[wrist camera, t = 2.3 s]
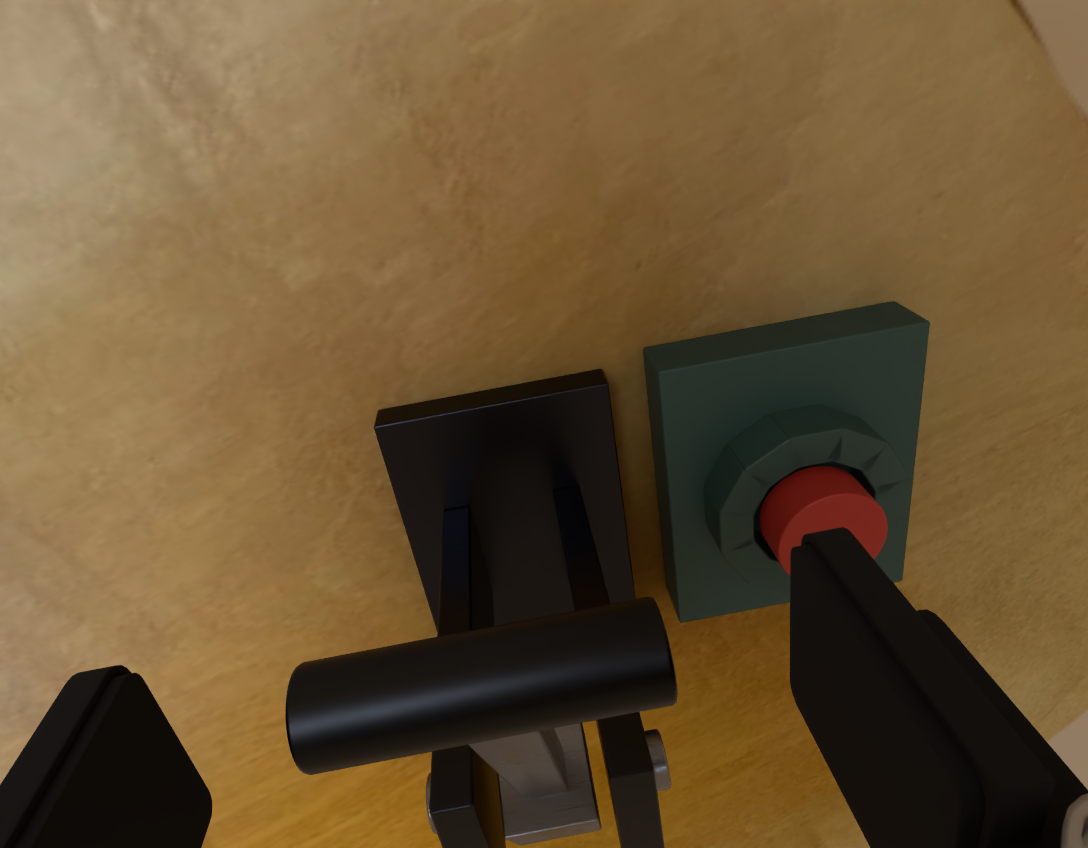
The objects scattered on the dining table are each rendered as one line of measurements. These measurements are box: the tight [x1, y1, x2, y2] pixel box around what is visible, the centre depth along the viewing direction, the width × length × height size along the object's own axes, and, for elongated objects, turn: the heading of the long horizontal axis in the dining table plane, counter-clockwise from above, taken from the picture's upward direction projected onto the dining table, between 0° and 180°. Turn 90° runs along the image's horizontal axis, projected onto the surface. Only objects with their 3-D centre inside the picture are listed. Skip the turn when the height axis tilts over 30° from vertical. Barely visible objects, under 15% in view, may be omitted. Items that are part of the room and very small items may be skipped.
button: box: [759, 466, 888, 575], centre depth 23 cm, size 4×4×2 cm
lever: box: [286, 597, 677, 845], centre depth 14 cm, size 12×5×2 cm, turn 9°
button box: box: [643, 301, 930, 623], centre depth 26 cm, size 11×9×4 cm
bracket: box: [374, 369, 671, 848], centre depth 22 cm, size 12×8×13 cm, turn 9°
